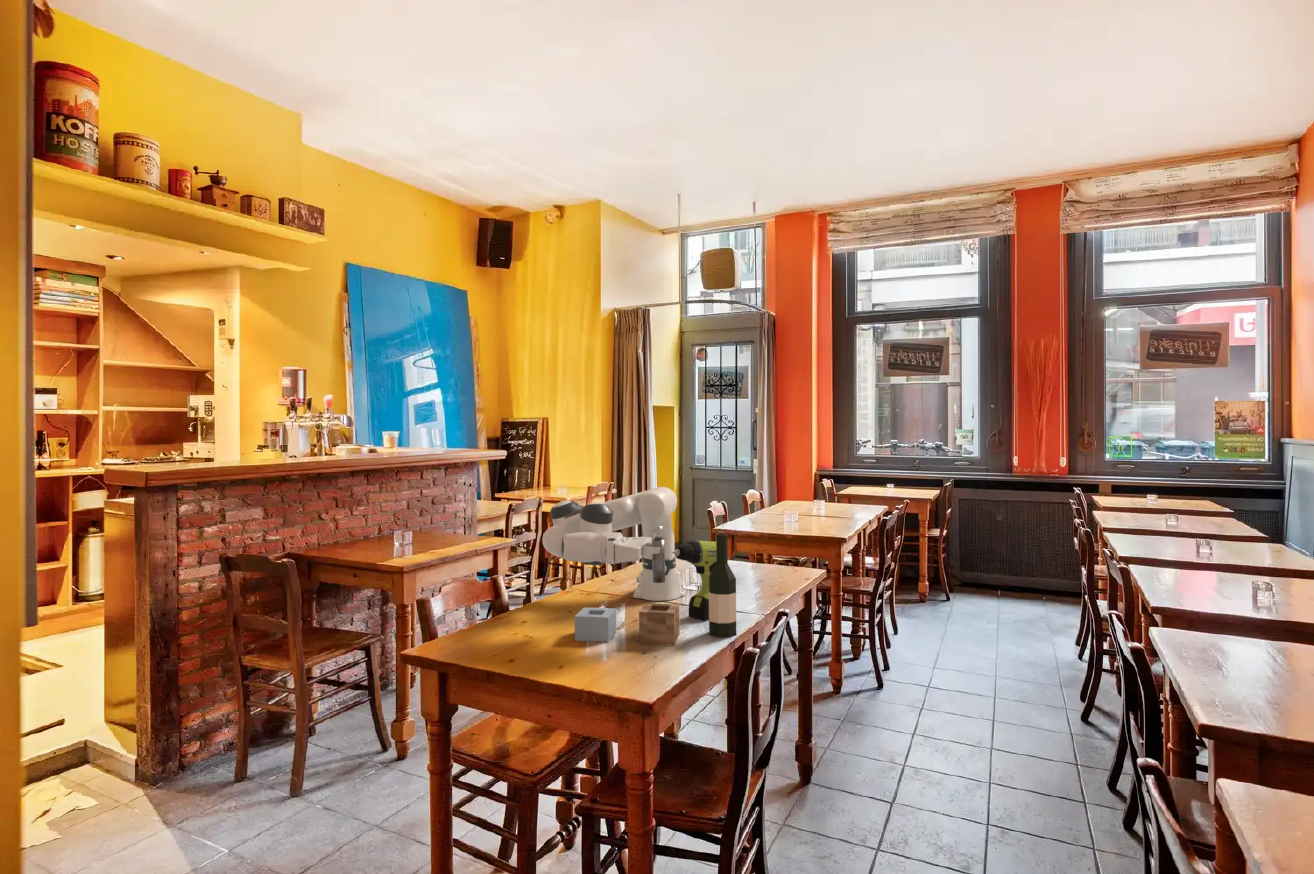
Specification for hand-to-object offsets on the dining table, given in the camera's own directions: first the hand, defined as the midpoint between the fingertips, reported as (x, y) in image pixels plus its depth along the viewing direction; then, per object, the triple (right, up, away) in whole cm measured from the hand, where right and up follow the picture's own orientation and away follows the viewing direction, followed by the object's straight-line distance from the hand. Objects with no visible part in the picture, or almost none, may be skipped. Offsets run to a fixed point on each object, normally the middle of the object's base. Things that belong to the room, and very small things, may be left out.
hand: (661, 548), depth 203 cm
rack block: (-1, -26, +1) cm, 26 cm away
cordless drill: (+12, -26, +22) cm, 36 cm away
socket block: (-19, -26, +4) cm, 33 cm away
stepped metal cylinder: (-1, -10, 0) cm, 10 cm away
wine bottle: (+18, -26, +5) cm, 32 cm away
